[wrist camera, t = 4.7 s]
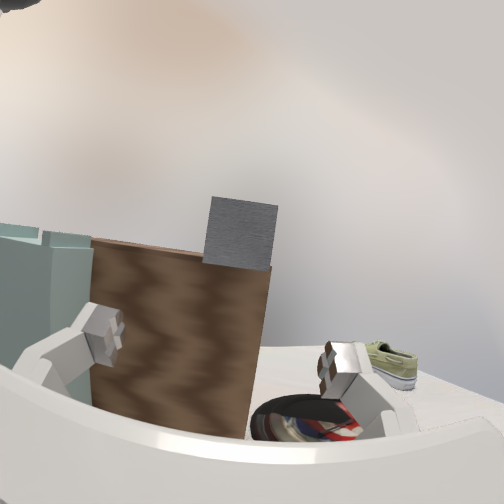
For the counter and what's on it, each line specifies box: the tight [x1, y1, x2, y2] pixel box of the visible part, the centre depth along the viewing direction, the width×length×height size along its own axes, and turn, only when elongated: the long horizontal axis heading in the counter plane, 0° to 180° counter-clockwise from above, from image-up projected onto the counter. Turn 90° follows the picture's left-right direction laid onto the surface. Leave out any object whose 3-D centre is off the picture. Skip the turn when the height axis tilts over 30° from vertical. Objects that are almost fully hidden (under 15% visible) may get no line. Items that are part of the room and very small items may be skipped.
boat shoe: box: [352, 340, 418, 390], centre depth 68 cm, size 10×29×9 cm, turn 20°
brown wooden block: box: [89, 237, 272, 439], centre depth 30 cm, size 22×13×26 cm, turn 93°
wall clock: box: [250, 394, 363, 442], centre depth 38 cm, size 26×5×30 cm
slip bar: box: [202, 197, 278, 272], centre depth 26 cm, size 4×22×4 cm, turn 3°
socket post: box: [0, 223, 94, 406], centre depth 18 cm, size 8×6×26 cm
